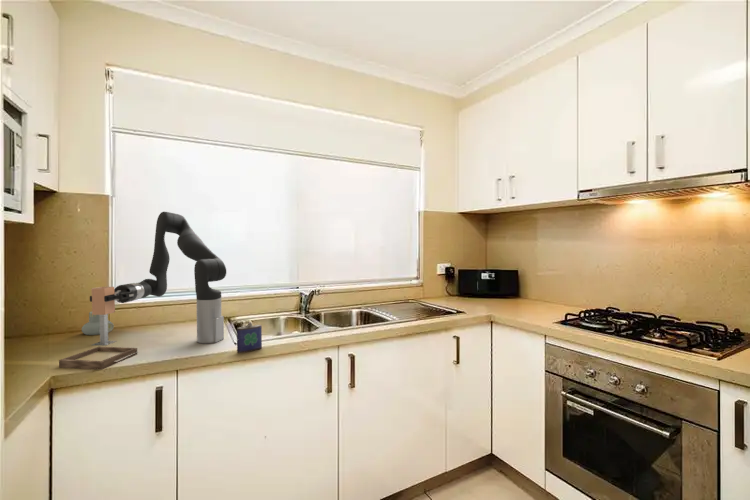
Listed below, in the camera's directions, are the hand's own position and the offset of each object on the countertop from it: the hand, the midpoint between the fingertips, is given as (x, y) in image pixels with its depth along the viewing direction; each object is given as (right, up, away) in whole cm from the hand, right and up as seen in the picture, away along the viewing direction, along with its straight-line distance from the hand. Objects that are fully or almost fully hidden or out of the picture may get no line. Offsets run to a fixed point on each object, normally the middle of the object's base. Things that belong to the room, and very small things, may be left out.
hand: (98, 298), depth 138 cm
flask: (+58, -19, -1) cm, 61 cm away
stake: (0, -19, +3) cm, 19 cm away
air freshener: (-15, -18, +19) cm, 30 cm away
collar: (0, -6, +3) cm, 7 cm away
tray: (+11, -19, -13) cm, 26 cm away
